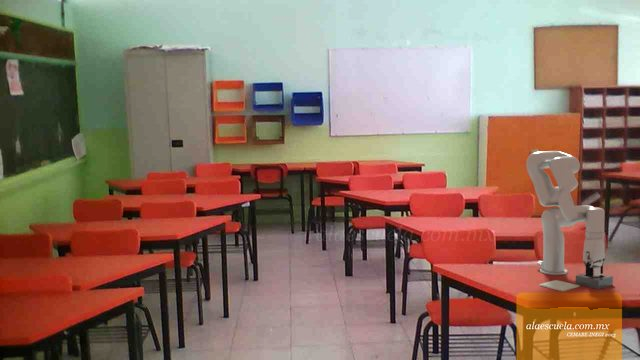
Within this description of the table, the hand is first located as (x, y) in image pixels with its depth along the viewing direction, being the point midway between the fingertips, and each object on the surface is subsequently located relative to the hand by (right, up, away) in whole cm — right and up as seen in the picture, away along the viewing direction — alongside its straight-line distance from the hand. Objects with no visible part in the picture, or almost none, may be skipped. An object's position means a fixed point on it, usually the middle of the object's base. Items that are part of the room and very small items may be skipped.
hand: (594, 274), depth 267 cm
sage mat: (-16, -5, -1) cm, 17 cm away
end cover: (0, -5, 0) cm, 5 cm away
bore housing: (0, -5, 0) cm, 5 cm away
